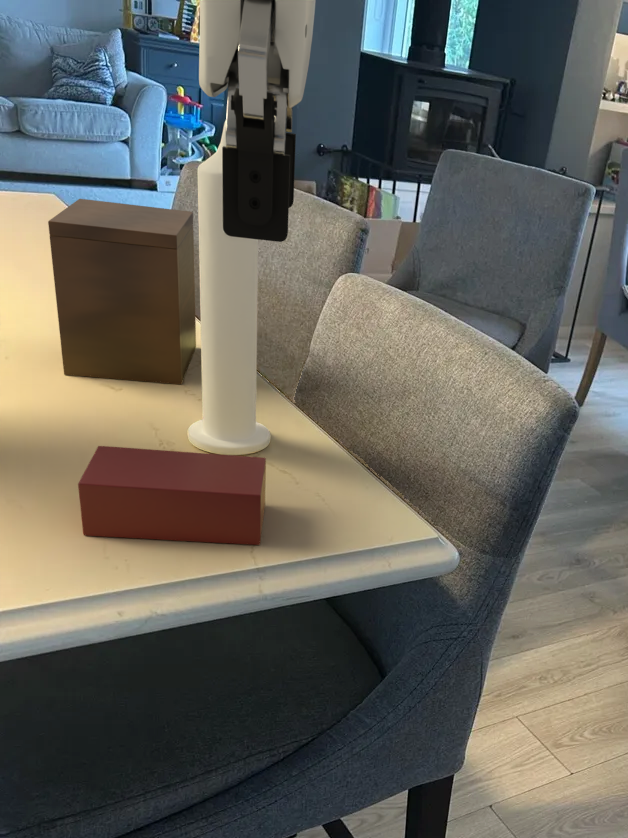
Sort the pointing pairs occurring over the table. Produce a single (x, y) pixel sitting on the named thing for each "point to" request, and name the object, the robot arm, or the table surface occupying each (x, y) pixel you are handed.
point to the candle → (226, 326)
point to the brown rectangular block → (124, 290)
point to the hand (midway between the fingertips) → (261, 219)
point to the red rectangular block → (173, 496)
